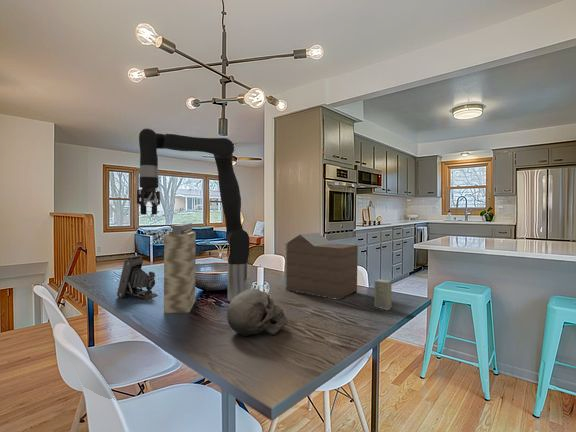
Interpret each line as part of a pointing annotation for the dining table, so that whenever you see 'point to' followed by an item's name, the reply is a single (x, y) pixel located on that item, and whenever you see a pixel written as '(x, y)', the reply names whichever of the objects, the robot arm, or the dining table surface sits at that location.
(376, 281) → the skincare box
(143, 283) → the camera
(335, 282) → the building model
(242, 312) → the skull
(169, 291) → the post
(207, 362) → the dining table surface
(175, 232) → the bar
